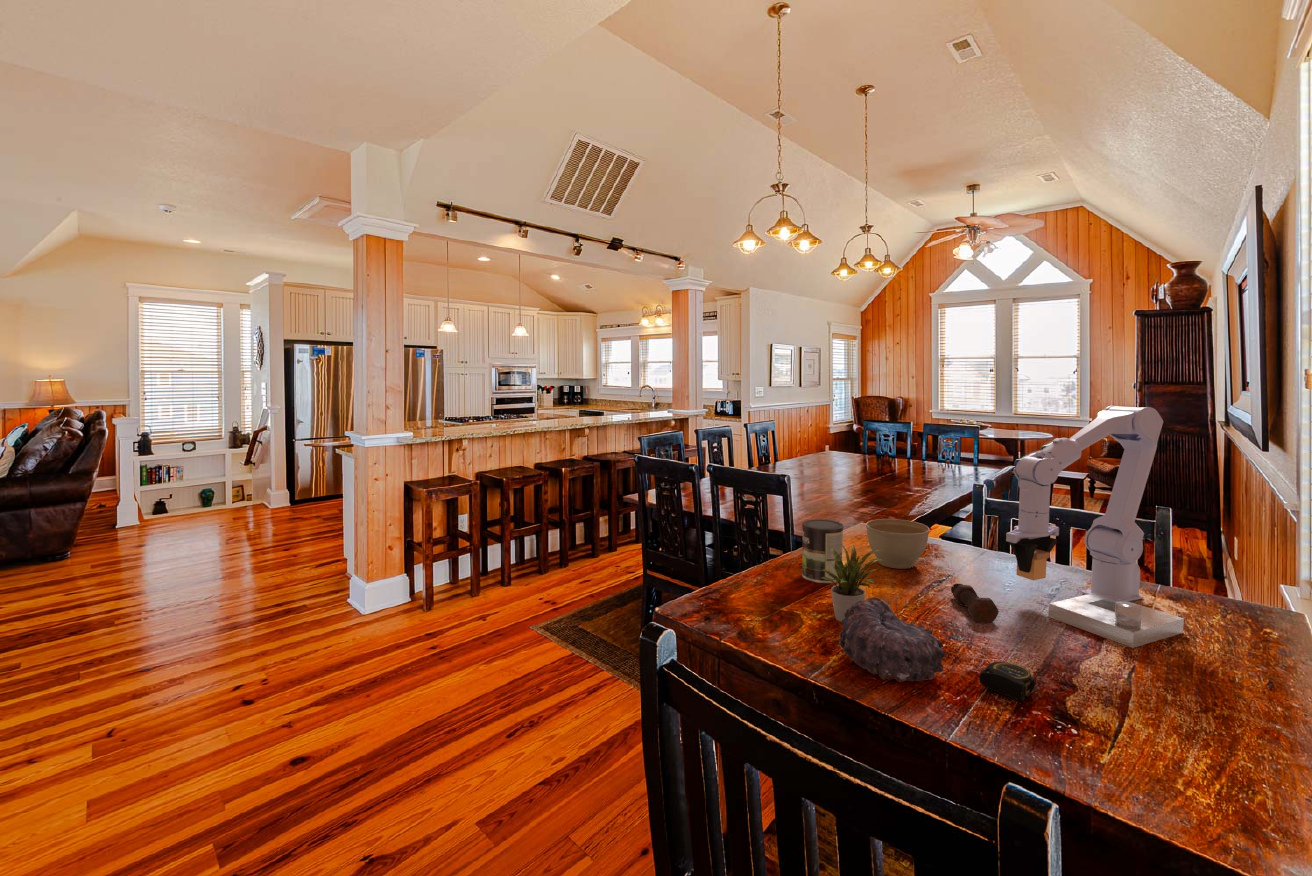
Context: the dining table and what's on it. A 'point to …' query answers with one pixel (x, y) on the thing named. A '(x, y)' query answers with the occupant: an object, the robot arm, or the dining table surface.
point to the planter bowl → (897, 541)
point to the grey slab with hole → (1116, 619)
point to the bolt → (975, 603)
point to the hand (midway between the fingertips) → (1031, 569)
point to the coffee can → (820, 548)
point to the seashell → (889, 643)
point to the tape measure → (1008, 679)
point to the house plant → (848, 581)
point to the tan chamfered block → (1036, 566)
